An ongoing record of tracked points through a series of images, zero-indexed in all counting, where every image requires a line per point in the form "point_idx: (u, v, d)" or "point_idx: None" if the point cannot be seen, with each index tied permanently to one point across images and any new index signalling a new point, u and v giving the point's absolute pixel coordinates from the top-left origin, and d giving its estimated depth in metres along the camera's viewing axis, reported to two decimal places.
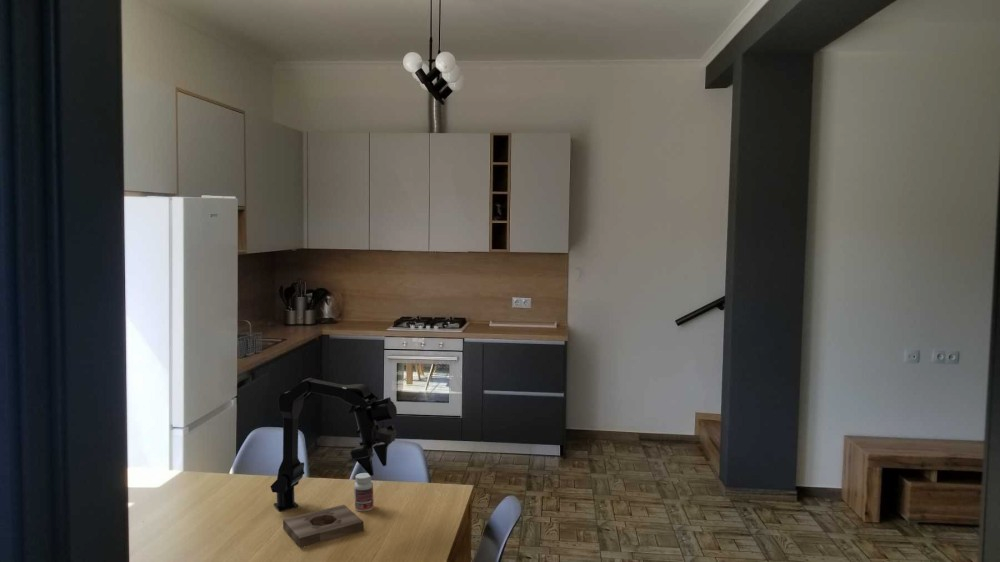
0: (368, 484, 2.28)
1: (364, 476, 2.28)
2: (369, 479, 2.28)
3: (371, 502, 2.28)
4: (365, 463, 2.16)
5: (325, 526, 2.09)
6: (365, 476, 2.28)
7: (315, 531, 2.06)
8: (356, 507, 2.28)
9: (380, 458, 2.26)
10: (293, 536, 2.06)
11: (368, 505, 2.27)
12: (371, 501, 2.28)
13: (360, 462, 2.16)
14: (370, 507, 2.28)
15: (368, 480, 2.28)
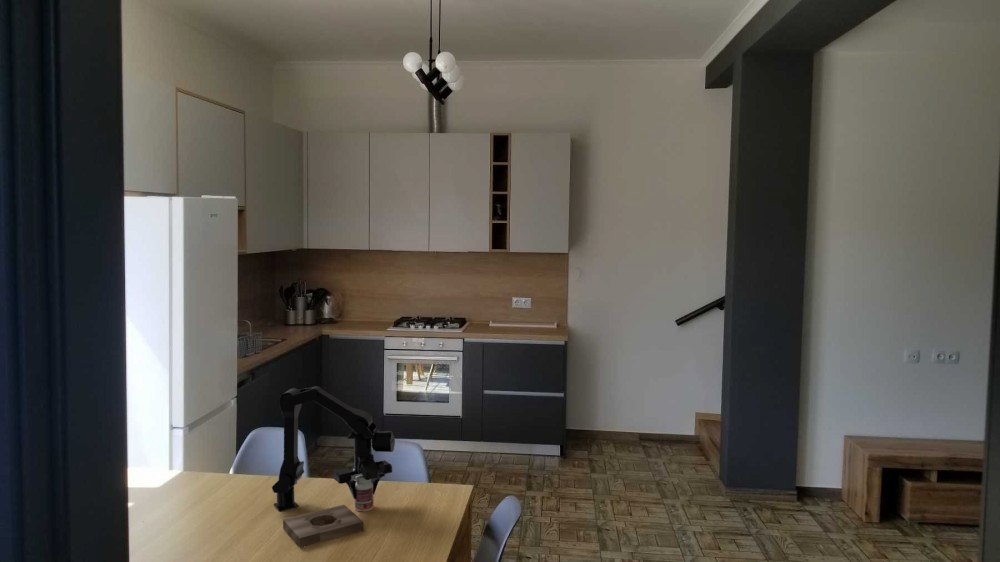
0: (368, 484, 2.28)
1: None
2: None
3: (371, 502, 2.28)
4: (350, 486, 2.27)
5: (325, 526, 2.09)
6: None
7: (315, 531, 2.06)
8: (356, 507, 2.28)
9: None
10: (293, 536, 2.06)
11: (368, 505, 2.27)
12: (371, 501, 2.28)
13: None
14: (370, 507, 2.28)
15: (368, 480, 2.28)
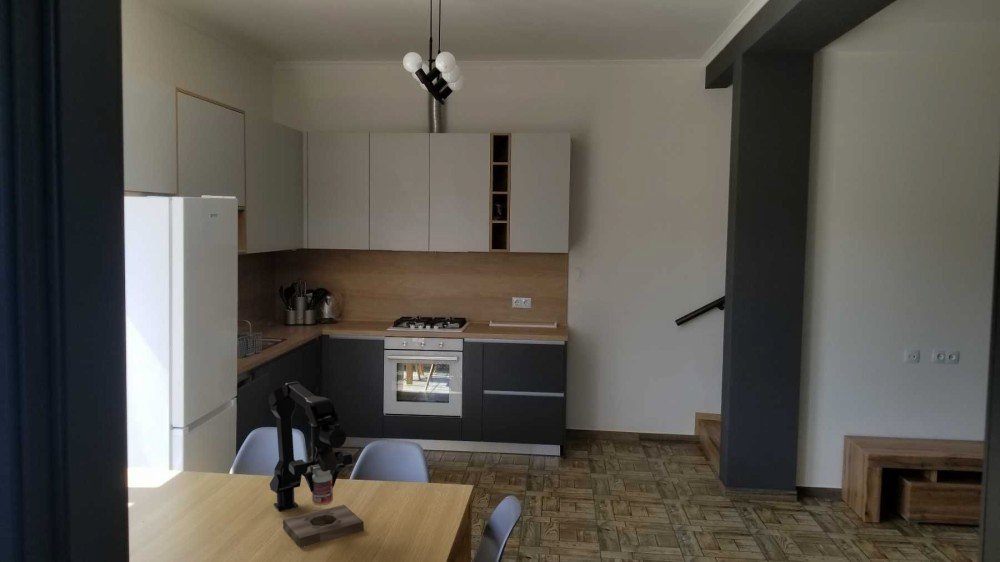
0: (326, 476, 2.11)
1: None
2: (328, 471, 2.11)
3: (330, 495, 2.12)
4: (307, 478, 2.10)
5: (325, 526, 2.09)
6: None
7: (315, 531, 2.06)
8: (313, 501, 2.11)
9: None
10: (293, 536, 2.06)
11: (326, 499, 2.11)
12: (330, 494, 2.12)
13: None
14: (329, 501, 2.11)
15: (326, 472, 2.11)
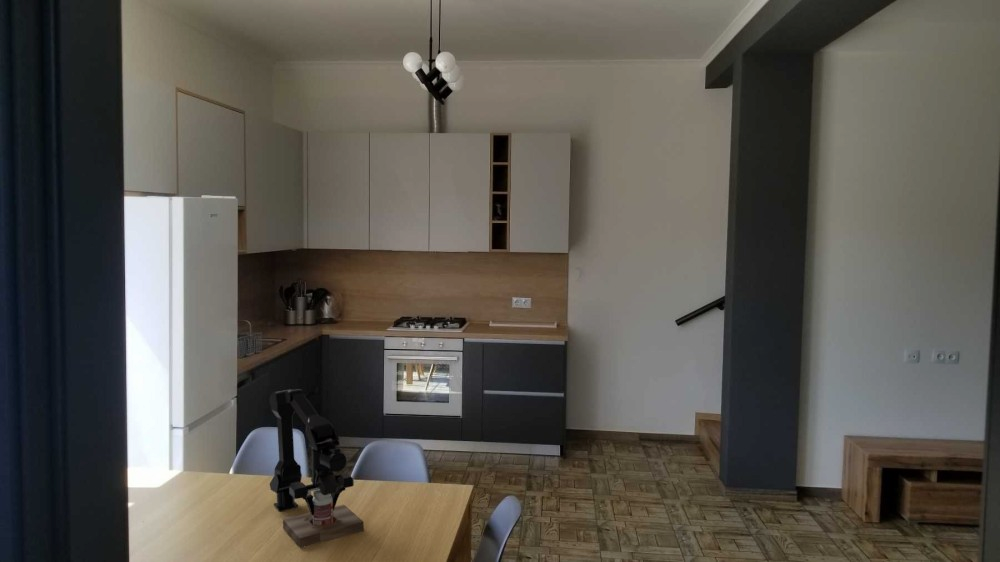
0: (327, 499, 2.12)
1: None
2: None
3: (330, 518, 2.12)
4: None
5: (325, 526, 2.09)
6: None
7: (315, 531, 2.06)
8: (314, 524, 2.12)
9: None
10: (293, 536, 2.06)
11: (327, 521, 2.11)
12: (330, 517, 2.12)
13: None
14: None
15: (327, 495, 2.11)
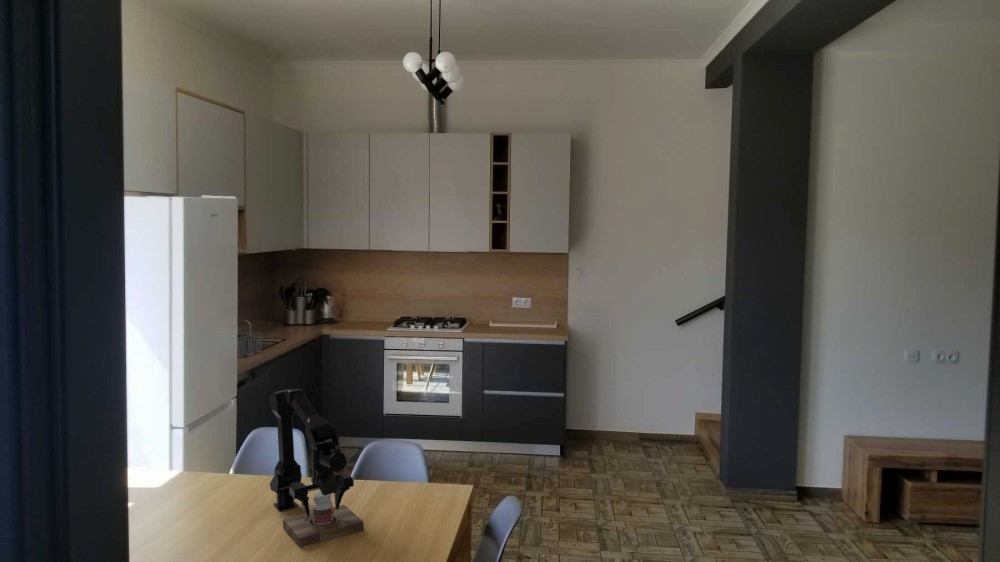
0: (327, 504, 2.12)
1: (323, 495, 2.12)
2: (328, 498, 2.12)
3: (330, 523, 2.12)
4: (303, 502, 2.10)
5: (325, 526, 2.09)
6: (323, 496, 2.12)
7: (315, 531, 2.06)
8: None
9: (335, 500, 2.16)
10: (293, 536, 2.06)
11: None
12: (330, 522, 2.12)
13: None
14: None
15: (327, 499, 2.12)
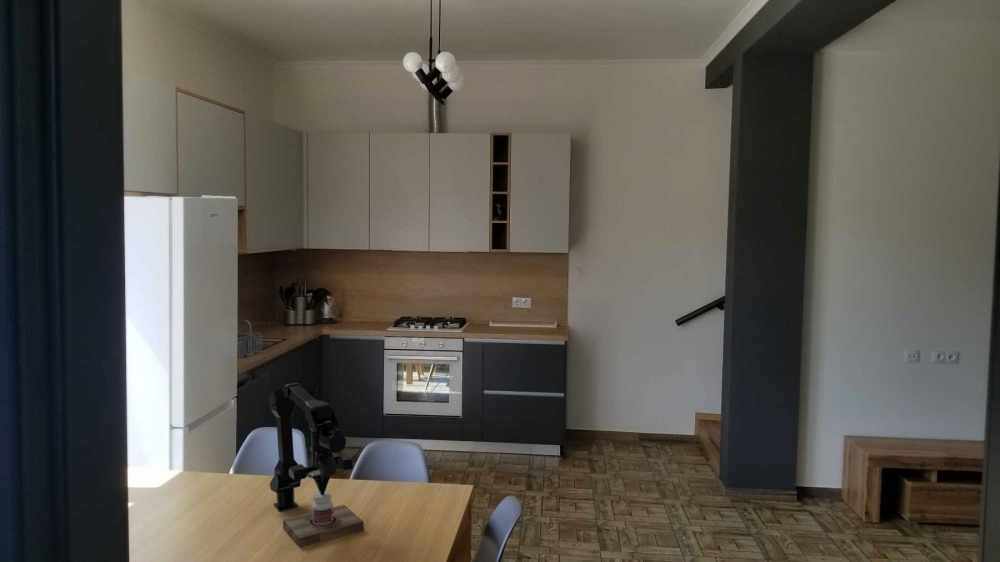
0: (327, 504, 2.12)
1: (323, 495, 2.12)
2: (328, 498, 2.12)
3: (330, 523, 2.12)
4: (316, 480, 2.12)
5: (325, 526, 2.09)
6: (323, 496, 2.12)
7: (315, 531, 2.06)
8: None
9: None
10: (293, 536, 2.06)
11: None
12: (330, 522, 2.12)
13: None
14: None
15: (327, 499, 2.12)
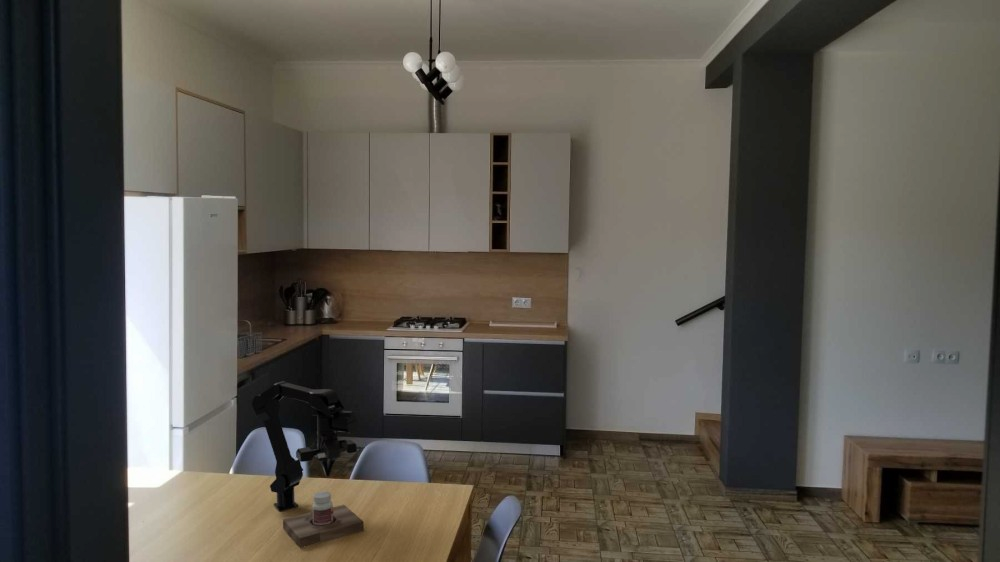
0: (327, 504, 2.12)
1: (323, 495, 2.12)
2: (328, 498, 2.12)
3: (330, 523, 2.12)
4: None
5: (325, 526, 2.09)
6: (323, 496, 2.12)
7: (315, 531, 2.06)
8: None
9: (326, 467, 2.25)
10: (293, 536, 2.06)
11: None
12: (330, 522, 2.12)
13: None
14: None
15: (327, 499, 2.12)
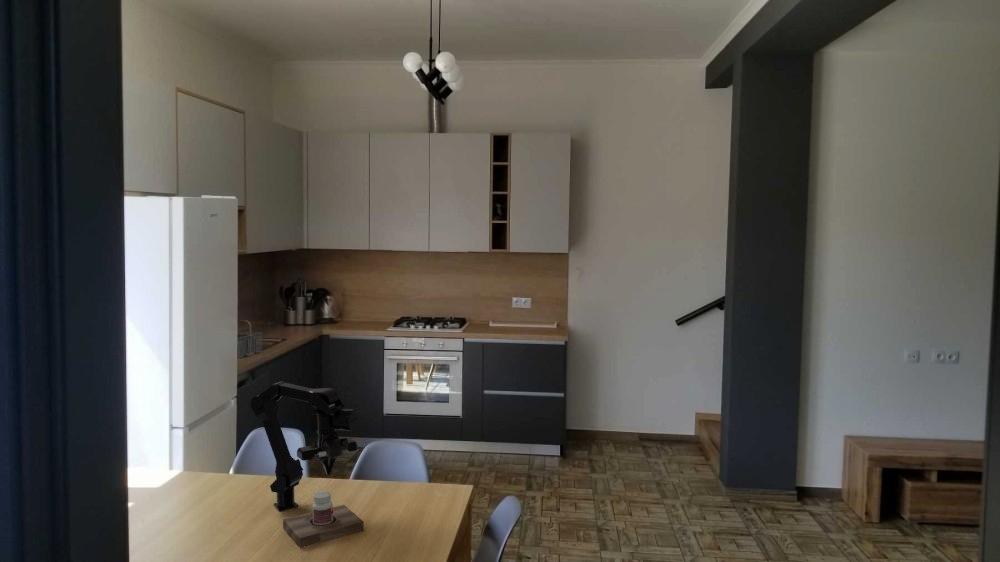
0: (327, 504, 2.12)
1: (323, 495, 2.12)
2: (328, 498, 2.12)
3: (330, 523, 2.12)
4: (323, 461, 2.25)
5: (325, 526, 2.09)
6: (323, 496, 2.12)
7: (315, 531, 2.06)
8: None
9: None
10: (293, 536, 2.06)
11: None
12: (330, 522, 2.12)
13: (320, 458, 2.25)
14: None
15: (327, 499, 2.12)
